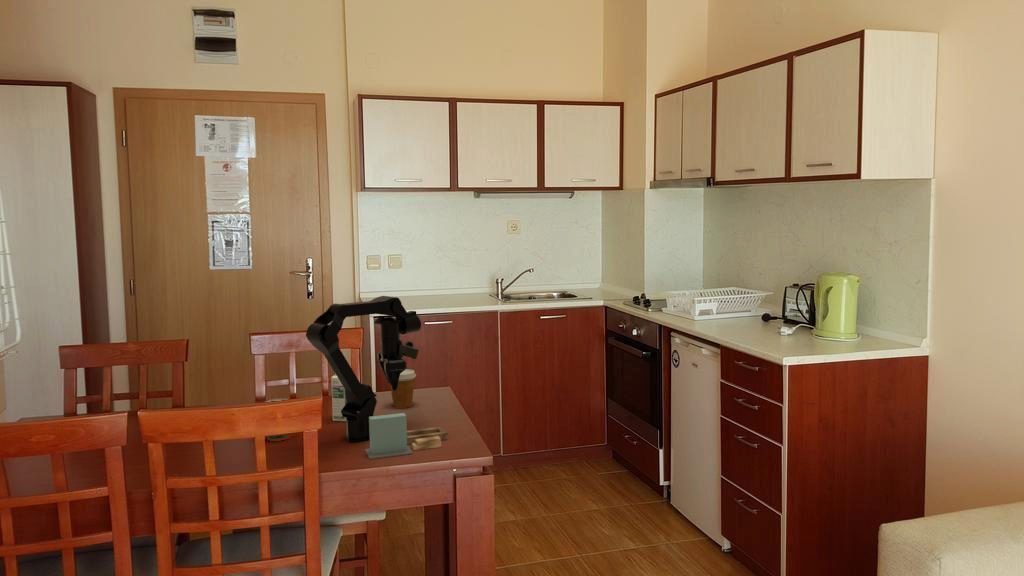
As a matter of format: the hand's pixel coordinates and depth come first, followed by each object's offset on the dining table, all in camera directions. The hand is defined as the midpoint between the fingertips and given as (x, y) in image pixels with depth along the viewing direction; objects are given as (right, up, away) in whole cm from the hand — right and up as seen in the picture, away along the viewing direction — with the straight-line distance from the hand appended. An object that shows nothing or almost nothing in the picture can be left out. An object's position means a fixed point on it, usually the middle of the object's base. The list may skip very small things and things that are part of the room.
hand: (392, 386), depth 238 cm
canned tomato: (-33, -15, -7) cm, 37 cm away
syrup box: (-17, -12, +12) cm, 24 cm away
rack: (+10, -14, -10) cm, 20 cm away
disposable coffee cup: (0, -10, +26) cm, 28 cm away
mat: (+2, -16, -21) cm, 27 cm away
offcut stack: (+13, -15, -17) cm, 26 cm away
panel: (+2, -15, -21) cm, 26 cm away
